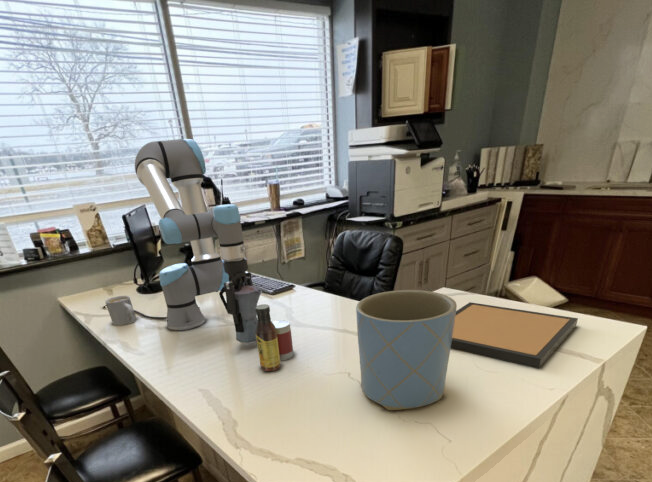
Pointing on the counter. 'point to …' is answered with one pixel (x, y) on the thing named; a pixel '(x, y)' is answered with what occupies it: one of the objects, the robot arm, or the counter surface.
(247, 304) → the moka pot
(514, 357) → the framed cork board
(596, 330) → the counter surface
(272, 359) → the sauce bottle
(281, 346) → the tin can
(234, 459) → the counter surface
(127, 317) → the coffee mug
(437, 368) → the planter
